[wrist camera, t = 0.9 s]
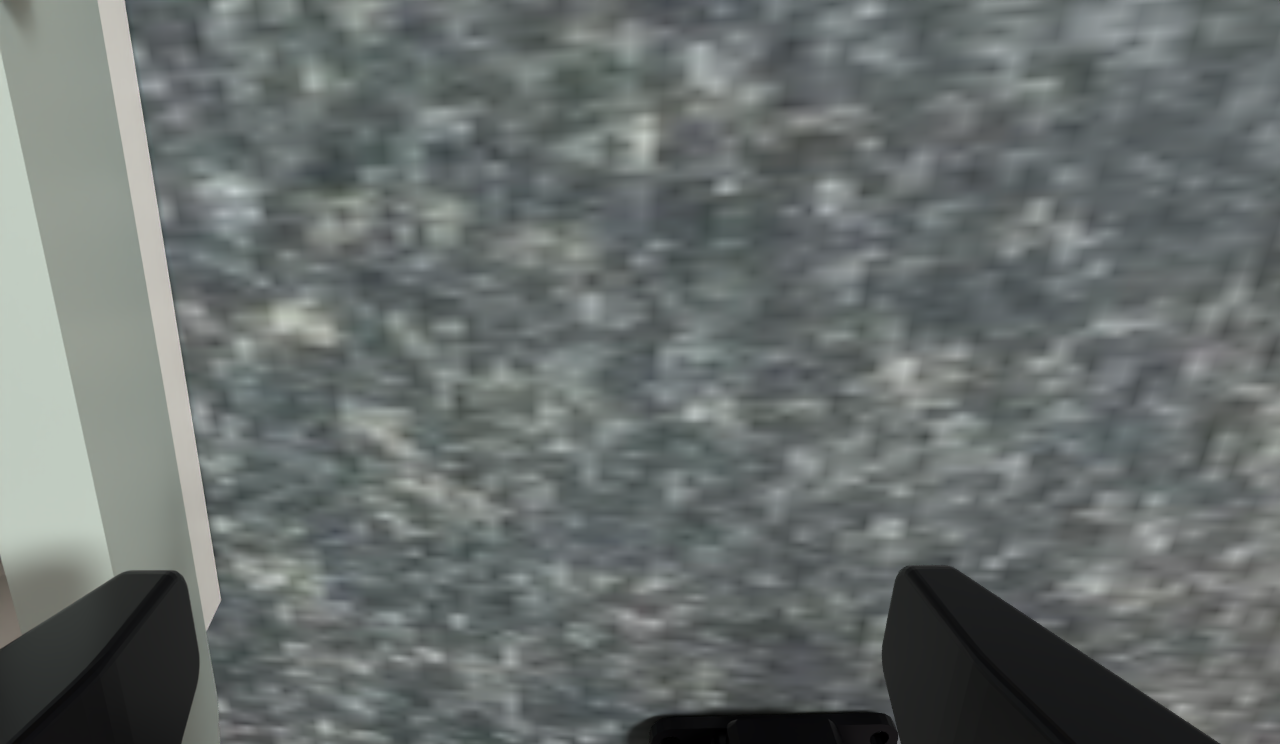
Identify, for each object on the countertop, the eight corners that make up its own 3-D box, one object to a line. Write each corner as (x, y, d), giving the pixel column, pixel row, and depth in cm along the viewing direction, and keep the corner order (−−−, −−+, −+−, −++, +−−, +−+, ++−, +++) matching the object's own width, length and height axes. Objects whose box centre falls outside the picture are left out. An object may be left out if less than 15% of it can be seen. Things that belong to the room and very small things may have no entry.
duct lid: (175, 709, 20) (248, 692, 21) (175, 1197, 13) (290, 1151, 13) (-83, -595, 12) (54, -569, 12) (-539, -1427, 4) (-135, -1262, 5)
